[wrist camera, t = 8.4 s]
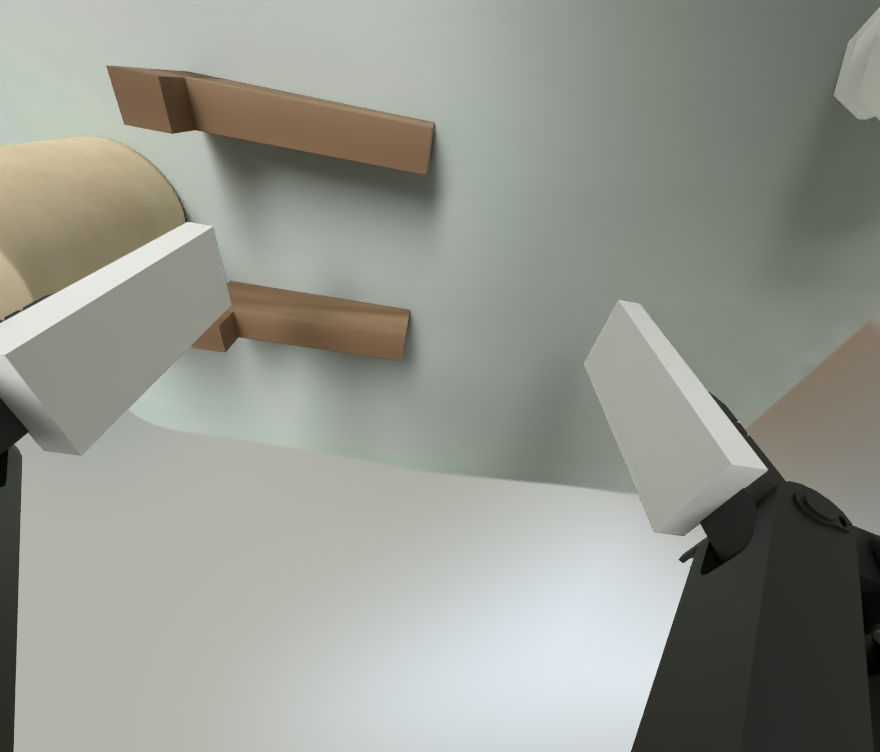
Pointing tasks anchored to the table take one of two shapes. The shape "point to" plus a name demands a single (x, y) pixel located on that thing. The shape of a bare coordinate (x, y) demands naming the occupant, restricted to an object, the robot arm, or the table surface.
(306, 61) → the table surface
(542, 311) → the table surface
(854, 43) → the cup
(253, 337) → the wooden stepped bars
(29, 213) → the candle
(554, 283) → the table surface
